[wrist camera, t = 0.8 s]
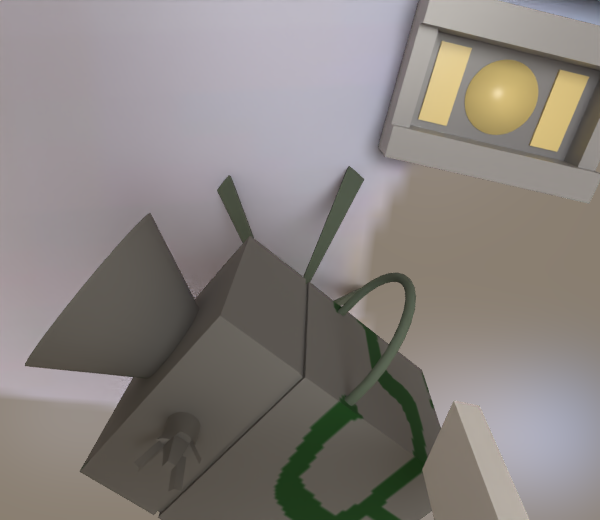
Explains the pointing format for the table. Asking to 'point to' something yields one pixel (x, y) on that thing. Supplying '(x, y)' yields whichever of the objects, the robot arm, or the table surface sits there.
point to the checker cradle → (499, 97)
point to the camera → (247, 385)
